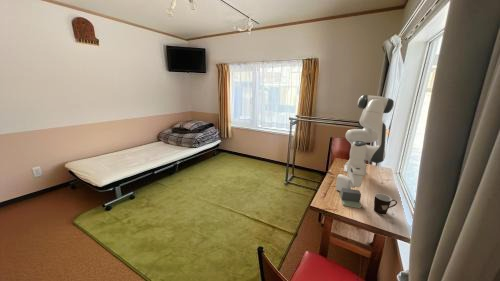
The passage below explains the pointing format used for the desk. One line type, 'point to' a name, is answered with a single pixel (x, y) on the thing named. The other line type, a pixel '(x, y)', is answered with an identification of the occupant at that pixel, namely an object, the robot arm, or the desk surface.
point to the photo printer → (343, 182)
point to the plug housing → (350, 195)
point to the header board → (350, 203)
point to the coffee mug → (382, 203)
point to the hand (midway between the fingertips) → (352, 186)
